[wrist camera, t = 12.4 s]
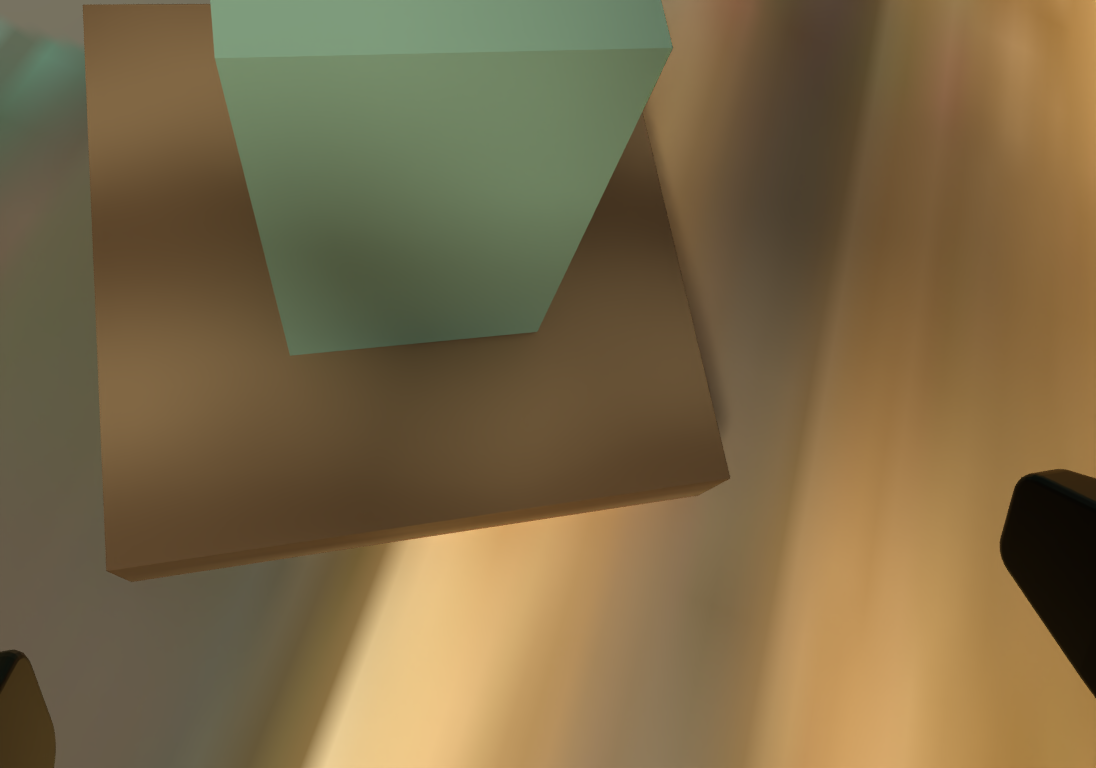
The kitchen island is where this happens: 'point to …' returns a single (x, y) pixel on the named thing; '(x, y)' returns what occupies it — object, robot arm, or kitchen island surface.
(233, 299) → the walnut board
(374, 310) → the teal block
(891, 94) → the kitchen island surface
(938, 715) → the kitchen island surface
